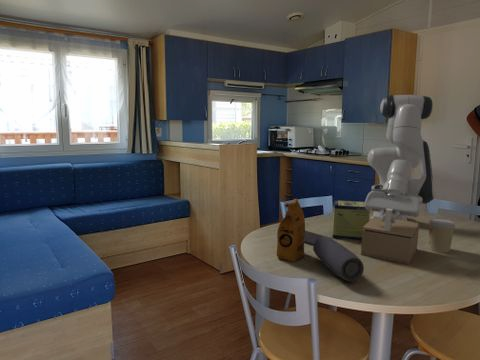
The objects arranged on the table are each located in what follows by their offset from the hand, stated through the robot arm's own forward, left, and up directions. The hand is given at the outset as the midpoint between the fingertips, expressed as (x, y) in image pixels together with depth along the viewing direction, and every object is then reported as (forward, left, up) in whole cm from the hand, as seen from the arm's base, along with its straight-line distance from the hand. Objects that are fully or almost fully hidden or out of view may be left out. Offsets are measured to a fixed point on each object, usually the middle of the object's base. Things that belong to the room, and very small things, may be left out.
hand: (388, 221), depth 148 cm
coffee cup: (-24, +17, -15) cm, 33 cm away
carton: (-9, 0, -15) cm, 17 cm away
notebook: (-7, -36, -16) cm, 40 cm away
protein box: (-21, -20, -15) cm, 32 cm away
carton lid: (-9, 0, -5) cm, 10 cm away
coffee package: (+18, -32, -15) cm, 40 cm away
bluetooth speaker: (+23, -12, -15) cm, 30 cm away
